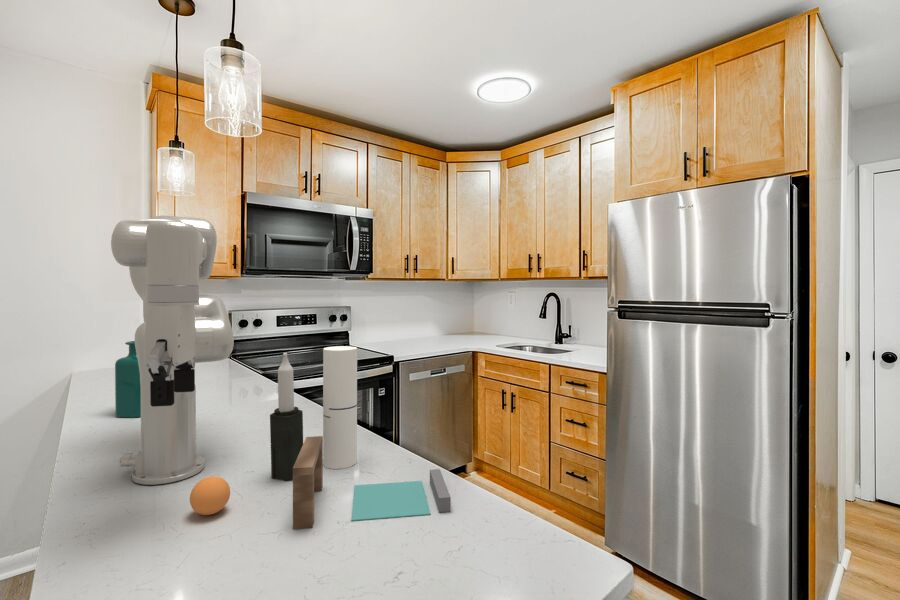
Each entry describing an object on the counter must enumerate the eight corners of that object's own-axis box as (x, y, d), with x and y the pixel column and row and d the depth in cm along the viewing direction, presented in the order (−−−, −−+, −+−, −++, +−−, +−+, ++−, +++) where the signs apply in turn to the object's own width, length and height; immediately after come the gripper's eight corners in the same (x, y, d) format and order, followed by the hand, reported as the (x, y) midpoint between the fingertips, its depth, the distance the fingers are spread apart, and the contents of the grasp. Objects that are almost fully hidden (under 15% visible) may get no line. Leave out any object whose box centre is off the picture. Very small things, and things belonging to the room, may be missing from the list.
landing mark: (351, 521, 73) (351, 519, 73) (354, 486, 86) (354, 485, 86) (430, 514, 75) (430, 513, 75) (421, 481, 88) (421, 480, 88)
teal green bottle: (140, 418, 129) (140, 342, 128) (111, 417, 129) (111, 342, 128) (163, 409, 139) (162, 338, 138) (136, 408, 139) (135, 338, 138)
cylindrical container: (348, 470, 93) (348, 351, 92) (317, 467, 95) (317, 349, 94) (361, 457, 100) (362, 346, 99) (332, 455, 101) (332, 345, 101)
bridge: (292, 529, 70) (292, 468, 70) (306, 487, 85) (306, 436, 85) (312, 527, 71) (312, 467, 71) (322, 486, 86) (322, 436, 85)
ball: (183, 523, 72) (183, 486, 71) (197, 505, 78) (197, 471, 77) (223, 520, 73) (223, 484, 73) (234, 503, 79) (234, 469, 78)
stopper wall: (438, 512, 76) (438, 498, 76) (429, 482, 88) (429, 469, 88) (450, 511, 76) (450, 497, 76) (439, 481, 88) (439, 469, 88)
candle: (306, 471, 92) (303, 351, 91) (289, 481, 87) (287, 355, 86) (286, 467, 94) (283, 349, 92) (268, 478, 89) (265, 353, 88)
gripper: (168, 295, 82) (169, 388, 83) (122, 297, 65) (123, 413, 66) (213, 295, 84) (213, 386, 84) (179, 297, 67) (180, 410, 67)
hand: (174, 398), depth 75 cm, fingers open, 9 cm apart
